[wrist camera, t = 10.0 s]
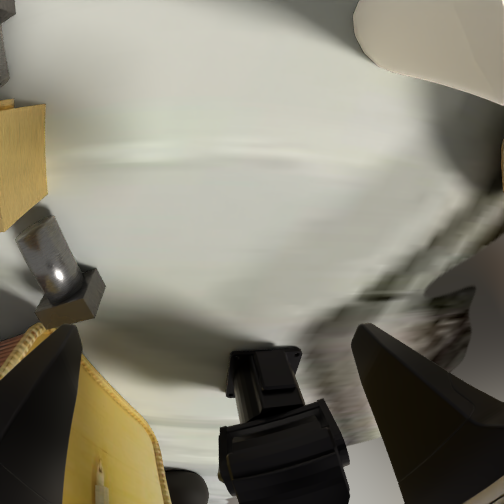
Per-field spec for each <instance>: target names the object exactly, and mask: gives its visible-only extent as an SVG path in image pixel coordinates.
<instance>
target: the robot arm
mask: <svg viewBox="0 0 504 504" xmlns="http://www.w3.org/2000/svg"><path fill="white" fill-rule="evenodd" d="M351 348H352V352H353V355H354V359H355V362H356V366H357V369H358V373H359V377H360V380H361V383H362V386H363V389H364V392H365V394H366V397H367V399H368V402H369V404H370V407H371V409H372V412H373V415H374V417H375V420H376V423H377V425H378V428H379V431H380V433H381V436H382V439H383V441H384V444H385V447H386V450H387V452H388V455H389V458H390V461H391V464H392V466H393V469H394V472H395V475H396V478H397V481H398V482H399V483H398V484H399V487H400V490H401V493H402V496H403V499H404V502H405V504H504V402H501V401H499V400H497V399H495V398H493V397H492V396H489V395H488V394H486V393H484V392H482V391H480V390H478V389H476V388H474V387H473V386H471V385H469V384H467V383H466V382H464V381H462V380H461V379H459V378H457V377H455V376H454V375H452V374H451V373H448V371H446V370H445V369H443V368H441V367H440V366H438V365H437V364H435V363H434V362H432V361H430V360H429V359H427V358H426V357H424V356H422V355H421V354H419V353H418V352H416V351H415V350H413V349H411V348H410V347H408V346H407V345H405V344H403V343H402V342H400V341H399V340H397V339H395V338H394V337H392V336H391V335H389V334H388V333H386V332H384V331H383V330H381V329H380V328H378V327H376V326H375V325H373V324H371V323H362V324H360V325H359V326H358V327H357V330H356V332H355V334H354V337H353V339H352V342H351ZM296 353H297V354H296ZM81 356H82V344H81V340H80V337H79V333H78V330H77V327H76V325H74V324H62V325H61V326H60V327H58V328H57V329H56V330H55V331H54V332H53V333H52V334H50V335H49V336H48V337H47V338H46V339H45V340H44V341H42V342H41V343H40V344H39V345H38V346H37V347H36V348H34V349H33V350H32V351H31V352H30V353H29V354H28V355H27V356H26V357H24V358H23V359H22V360H21V361H20V362H19V363H18V364H17V365H16V366H15V367H14V368H13V369H11V370H10V371H9V372H8V373H7V374H6V375H5V376H4V377H3V378H2V379H1V380H0V504H62V501H63V487H64V477H65V467H66V459H67V451H68V444H69V437H70V431H71V425H72V419H73V414H74V409H75V403H76V398H77V392H78V382H79V373H80V364H81ZM236 356H237V357H236ZM301 356H302V352H301V349H299V348H292V349H276V350H255V351H234V352H232V353H231V354H230V358H229V367H228V375H227V383H226V397H228V398H236V404H237V409H238V414H239V420H240V424H237V425H233V426H229V427H227V426H224V427H220V435H219V470H218V479H219V480H220V481H221V482H223V483H225V485H226V488H227V490H228V491H229V493H230V494H231V495H232V496H237V499H238V502H239V504H348V502H349V498H350V494H349V490H350V489H349V485H348V482H347V479H346V475H345V472H344V469H343V467H344V466H347V465H349V464H350V460H349V455H348V452H347V448H346V445H345V442H344V439H343V437H342V434H341V432H340V430H339V428H338V426H337V424H336V422H335V420H334V418H333V416H332V414H331V412H330V410H329V408H328V406H327V405H326V403H325V401H324V399H320V400H317V402H314V403H311V404H308V405H305V402H304V399H303V396H302V394H301V391H300V388H299V386H298V383H297V380H296V377H295V374H296V371H297V368H298V365H299V362H300V359H301Z"/></svg>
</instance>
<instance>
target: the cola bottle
mask: <svg viewBox="0 0 504 504" xmlns="http://www.w3.org/2000/svg"><path fill="white" fill-rule="evenodd" d="M165 476H166V481H167V486H168V490H169V495H170V499H171V503H172V504H207V503H208V498H209V492H208V488H207V485H206V483H205V481H204V479H203V478H202V477H201V476H200V475H198V474H196V473H192V472H188V471H170V472H166V473H165Z"/></svg>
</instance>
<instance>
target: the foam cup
mask: <svg viewBox="0 0 504 504" xmlns="http://www.w3.org/2000/svg"><path fill="white" fill-rule="evenodd" d="M353 24H354V34H355V36H356V38H357V40H358V42H359V44H360V46H361V48H362V50H363V52H364V53H365V54H366V55H367V56H368V57H369V58H370V59H371V60H372V61H373V62H374V63H375V64H376V65H377V66H378V67H381V68H383V69H386V70H388V71H391V72H393V73H398V74H401V75H405V76H410V77H414V78H418V79H422V80H426V81H430V82H434V83H437V84H441V85H444V86H448V87H451V88H454V89H458V90H461V91H464V92H467V93H470V94H473V95H476V96H479V97H481V98H484V99H487V100H490V101H492V102H495V103H497V104H500V105H502V106H504V0H360V1H359V2H358V4H357V7H356V9H355V11H354V14H353Z"/></svg>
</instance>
